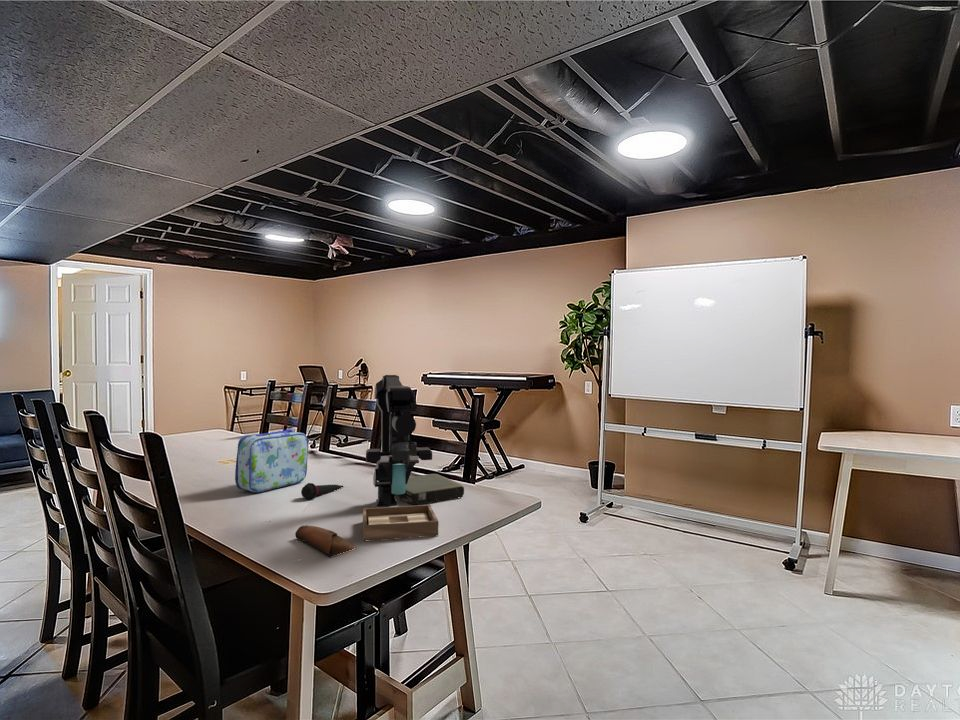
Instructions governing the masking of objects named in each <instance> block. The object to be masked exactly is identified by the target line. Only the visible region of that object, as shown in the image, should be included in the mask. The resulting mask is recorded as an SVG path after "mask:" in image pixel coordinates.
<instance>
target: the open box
mask: <svg viewBox="0 0 960 720" xmlns="http://www.w3.org/2000/svg"><path fill="white" fill-rule="evenodd" d="M367 522H368V523H367ZM439 523H440V522H439V519H438V517H437V515H436V514H435V512H434V509H433V507H432V506H431V504H421V505H415V506H412V505H401V506H400V505H399V506H386V507H385V506H380V507H368V508H367V507H365V508H362V529H363V530H362V531H363V533H362V534H363V542H367V541H366V540H375V541H382V540H381V539H388V540H396V539H395V538H402V539H410V538H409V537H415V538H420V537H419V536H429V537H437V536H436V535H438V536H439Z"/></svg>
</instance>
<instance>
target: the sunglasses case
mask: <svg viewBox="0 0 960 720" xmlns="http://www.w3.org/2000/svg"><path fill="white" fill-rule="evenodd" d="M294 536H295V538H296V539H297V540H300V541H302V542H305V543H307V544H308V545H311V546H312V547H315V548H316V549H317V550H319V551H321V552H323V553H325V554H326V555H328V556H330V557H331V556H334V555H337V554H340V553H343V552H346V551H349V550H352V549H354V548H356V546H355V545H353V544H352V543H351V542H349V541H348V540H346V539H344V538H343V537H341V536H339V535H338V533H336V532H335V531H333V530H330V529H326V528H323V527H320V526H316V525H315V526H314V525H301V526H300V527H298V528H297V530H296V531H295V535H294ZM352 551H353V550H352ZM349 552H350V551H349ZM346 553H347V552H346ZM343 554H344V553H343ZM340 555H341V554H340ZM337 556H338V555H337ZM334 557H335V556H334Z"/></svg>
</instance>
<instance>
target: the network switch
mask: <svg viewBox="0 0 960 720" xmlns="http://www.w3.org/2000/svg"><path fill="white" fill-rule="evenodd" d="M464 494H465V486H464V485H463V483H460V482H457V481H454V480H452V479H450V478H448V477H445V476H442V475H440V474H438V473H429V474H422V475H415V476H410V477H409V480H408V482H407V484H406V490H405V493H404V494H399V495H396V494H395V498H398V499H399V500H402V501H404V502H407V503H408V504H410V506H415V505H426V504H430V503H436V502H440V501H450V500H449V499H452V500H455V499H454V498H457V499H459V498H458V497H464Z"/></svg>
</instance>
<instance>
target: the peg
mask: <svg viewBox="0 0 960 720" xmlns="http://www.w3.org/2000/svg"><path fill="white" fill-rule="evenodd" d="M406 466H407V464H405V463H399V464H393V465H392V494H396V495H399V494H404V493H405V490H406Z"/></svg>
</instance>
